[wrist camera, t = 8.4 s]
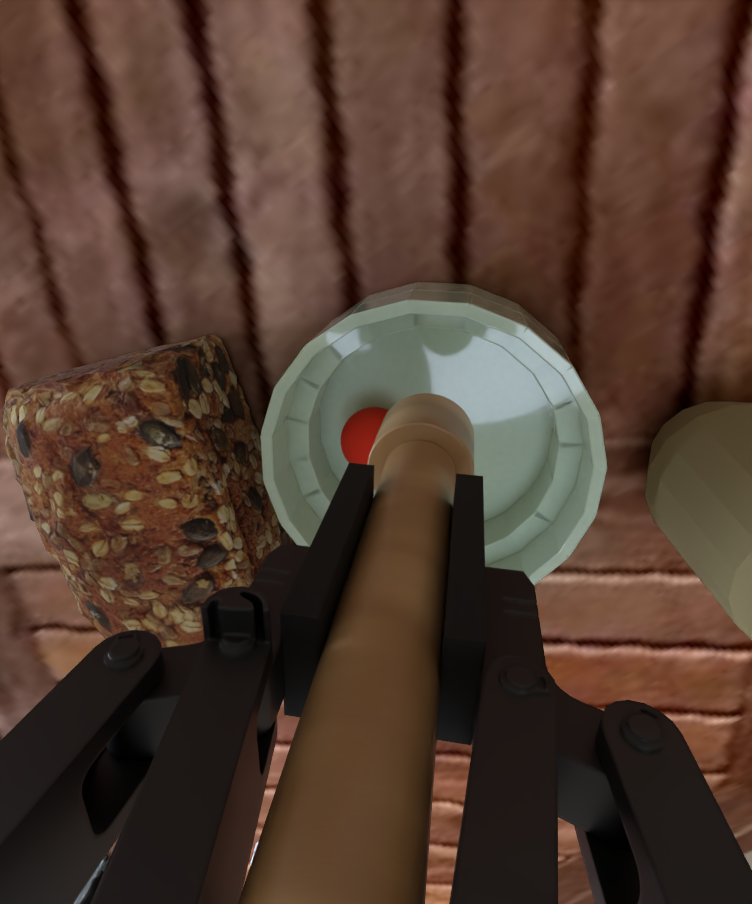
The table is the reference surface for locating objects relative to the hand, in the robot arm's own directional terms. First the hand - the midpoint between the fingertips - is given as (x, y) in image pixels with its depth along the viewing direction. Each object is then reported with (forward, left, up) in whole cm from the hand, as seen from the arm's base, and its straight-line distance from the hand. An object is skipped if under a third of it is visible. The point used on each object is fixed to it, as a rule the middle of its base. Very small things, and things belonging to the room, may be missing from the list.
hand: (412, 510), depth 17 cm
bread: (-14, -9, -16) cm, 23 cm away
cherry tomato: (-3, -4, -13) cm, 14 cm away
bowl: (0, -4, -16) cm, 16 cm away
